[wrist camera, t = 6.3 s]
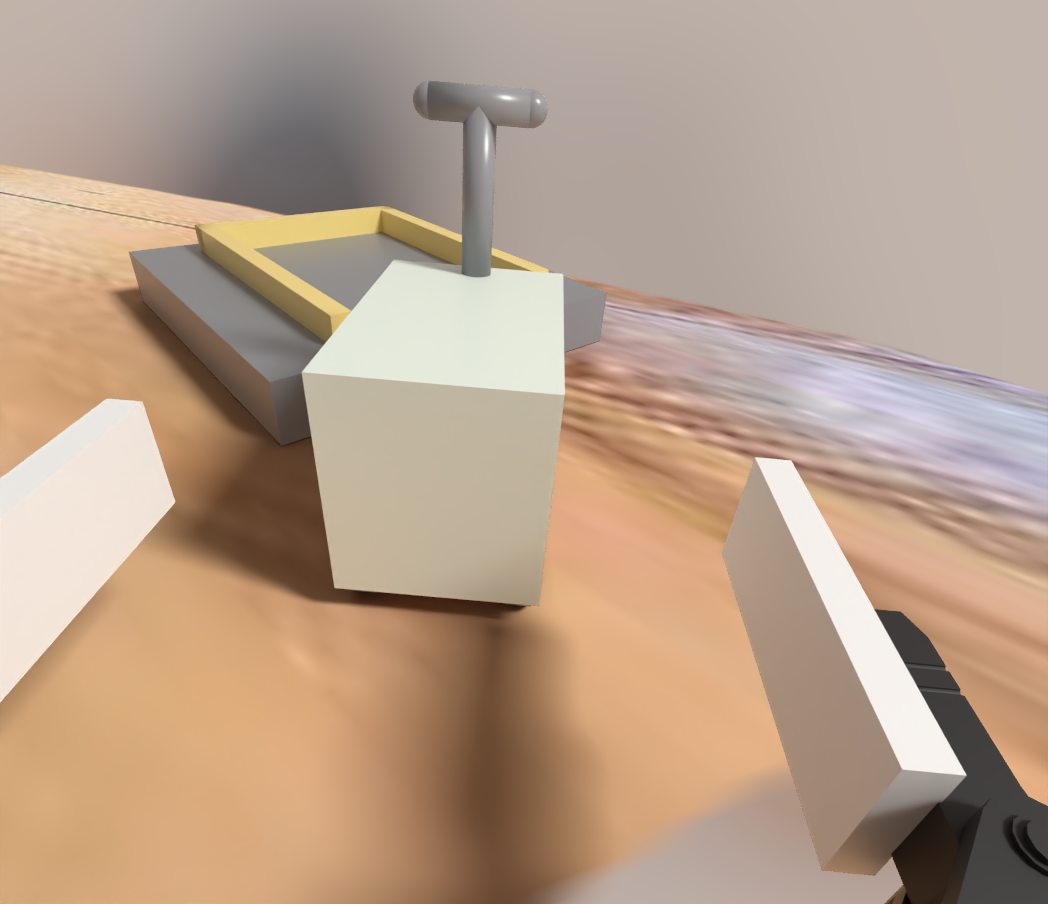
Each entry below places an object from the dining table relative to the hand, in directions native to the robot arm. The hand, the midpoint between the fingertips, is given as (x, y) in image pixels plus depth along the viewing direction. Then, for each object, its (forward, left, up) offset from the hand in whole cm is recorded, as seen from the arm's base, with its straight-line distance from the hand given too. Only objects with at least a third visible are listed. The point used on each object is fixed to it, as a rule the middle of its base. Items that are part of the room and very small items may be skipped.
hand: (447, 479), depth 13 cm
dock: (-9, +24, -6) cm, 26 cm away
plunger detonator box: (-1, +6, -6) cm, 9 cm away
